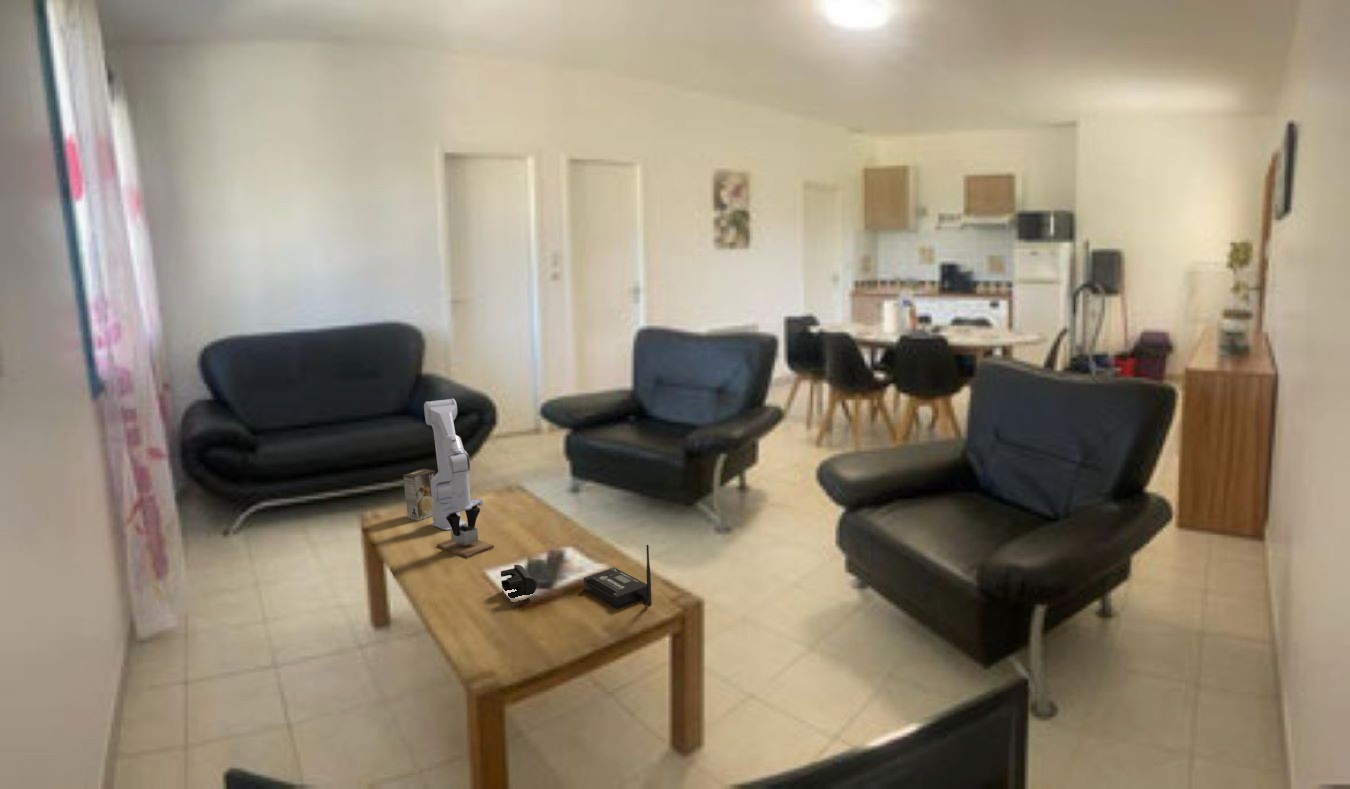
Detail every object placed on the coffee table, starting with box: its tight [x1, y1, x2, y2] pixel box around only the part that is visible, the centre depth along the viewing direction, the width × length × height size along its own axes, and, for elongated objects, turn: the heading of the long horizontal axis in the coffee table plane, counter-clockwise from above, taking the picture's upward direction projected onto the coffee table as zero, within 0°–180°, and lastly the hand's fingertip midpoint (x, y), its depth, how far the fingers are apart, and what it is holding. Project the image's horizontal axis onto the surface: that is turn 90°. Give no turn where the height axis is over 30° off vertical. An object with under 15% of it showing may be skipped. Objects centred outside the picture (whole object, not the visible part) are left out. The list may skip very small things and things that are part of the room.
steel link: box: [450, 524, 479, 545], centre depth 252 cm, size 7×5×4 cm
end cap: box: [500, 564, 537, 598], centre depth 218 cm, size 10×7×7 cm
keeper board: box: [436, 538, 495, 559], centre depth 253 cm, size 16×10×4 cm, turn 50°
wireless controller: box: [583, 544, 653, 610], centre depth 214 cm, size 20×14×17 cm
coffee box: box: [402, 468, 436, 522], centre depth 282 cm, size 9×6×16 cm
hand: (464, 532), depth 252 cm, fingers closed on steel link, 5 cm apart
